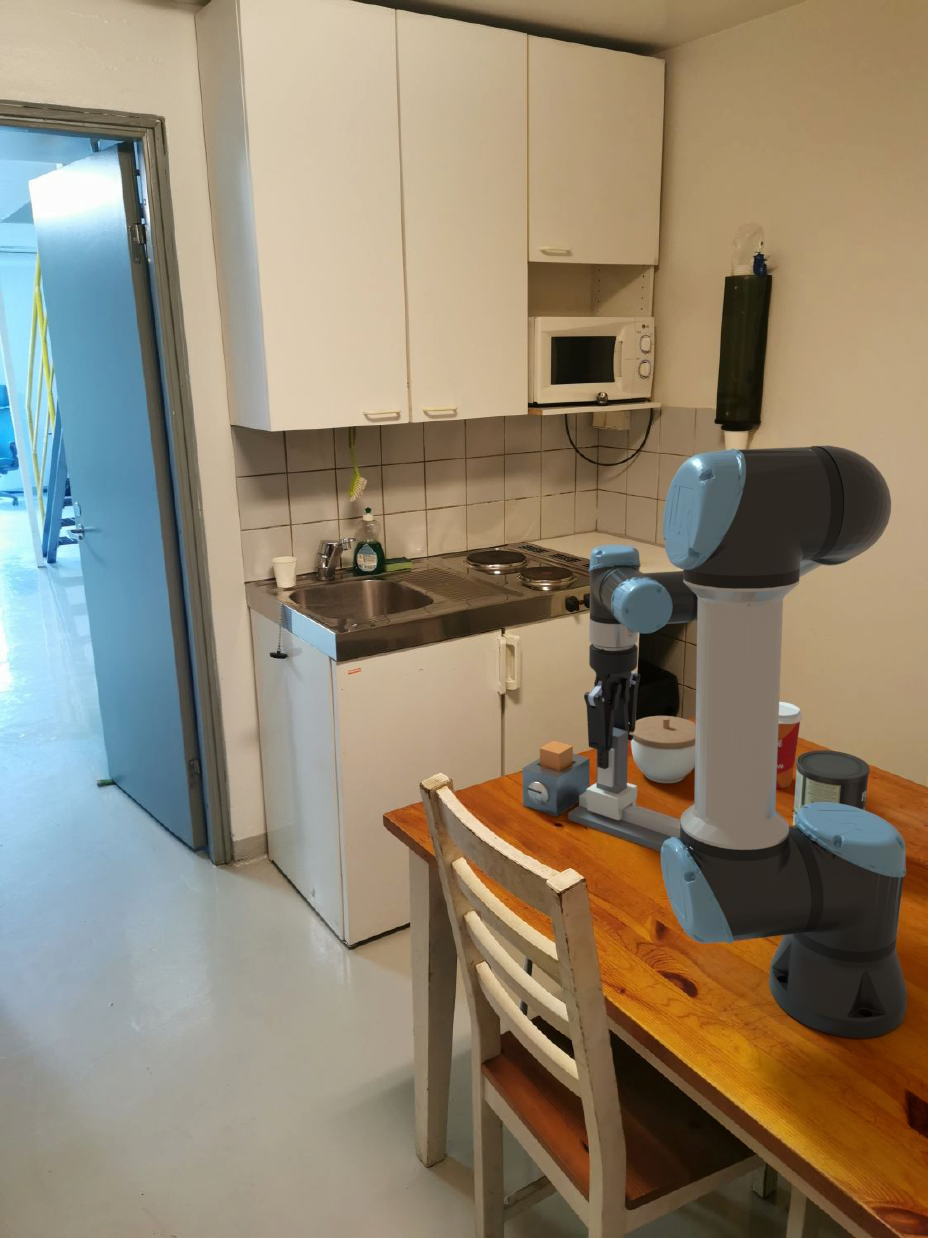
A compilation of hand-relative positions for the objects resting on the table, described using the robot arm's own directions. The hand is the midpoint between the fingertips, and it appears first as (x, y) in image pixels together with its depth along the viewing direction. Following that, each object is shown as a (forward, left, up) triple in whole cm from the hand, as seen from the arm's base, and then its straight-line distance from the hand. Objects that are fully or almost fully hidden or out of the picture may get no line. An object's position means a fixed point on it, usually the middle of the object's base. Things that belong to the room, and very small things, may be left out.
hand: (611, 780), depth 151 cm
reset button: (0, +11, -1) cm, 11 cm away
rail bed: (0, -4, -7) cm, 8 cm away
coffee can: (+12, -31, -7) cm, 34 cm away
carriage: (0, 0, -5) cm, 5 cm away
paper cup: (+29, -16, -7) cm, 34 cm away
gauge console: (0, +11, -7) cm, 13 cm away
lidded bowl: (+20, +1, -7) cm, 21 cm away
